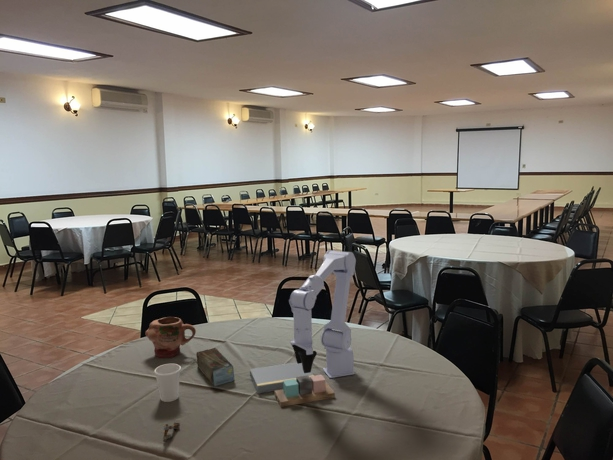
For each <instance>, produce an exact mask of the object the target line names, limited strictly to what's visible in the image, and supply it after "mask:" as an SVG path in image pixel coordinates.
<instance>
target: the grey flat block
mask: <svg viewBox="0 0 613 460" xmlns="http://www.w3.org/2000/svg"><path fill="white" fill-rule="evenodd" d="M307 375H308V376H309V377H310V376H315V375H314V374H313V371H311V372H310V373H304V371H303V367H302V363H299V364H298V363H297V361H296V362H295V361H294V362H287V363H283V364H282V363H281V364H274V365H269V366H261V367H260V366H259V367H256V368H254V367H253V368H250V369H249V376H250V379H251V381H252V383H253V385H254V388H255V390H256V392H257V394H262V393H263V394H264V393H269V392H275V391H276V390H282V389H283V381H284V380H290V379H295V380H296V377H300V376H307Z"/></svg>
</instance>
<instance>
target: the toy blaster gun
mask: <svg viewBox="0 0 613 460" xmlns="http://www.w3.org/2000/svg"><path fill="white" fill-rule="evenodd" d="M180 425H181V422H178V421H177V422H175V421H174V422H173V424H165V425H163V430H164V431H163V432H164V434H163V439H162V442H163V443H167V440H169V439H170V438H171V437H172V434H168V432H169V430H173V429H175V430H180Z"/></svg>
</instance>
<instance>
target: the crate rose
mask: <svg viewBox="0 0 613 460" xmlns="http://www.w3.org/2000/svg"><path fill="white" fill-rule="evenodd" d="M310 379H311V380H312V391H313V393H318V392H324V391H326V385H325V382H326V379H325V377H324V376H323V374H317V375H314V376H310Z"/></svg>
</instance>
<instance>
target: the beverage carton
mask: <svg viewBox="0 0 613 460" xmlns="http://www.w3.org/2000/svg"><path fill="white" fill-rule="evenodd" d="M196 362H197V363H196V364H197V367H198V369H199V370H200V371H201V372H202V373H203V375H204V376H205V378H207V379H208V380H209V382H210V383H211V384H212V385H213V386H214V387H217V386H220V385H223V384H228V383H231V382H234V381H235V374H234V373H235V371H234V365H232V363H231V362H230V361H229V359H227V358H226V357H225V356H224V355H223V354H222V353H221V352H220V351H219V350H218V349H217V348H216V347H212V348H209V349H204V350H200V351H197V352H196Z"/></svg>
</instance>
